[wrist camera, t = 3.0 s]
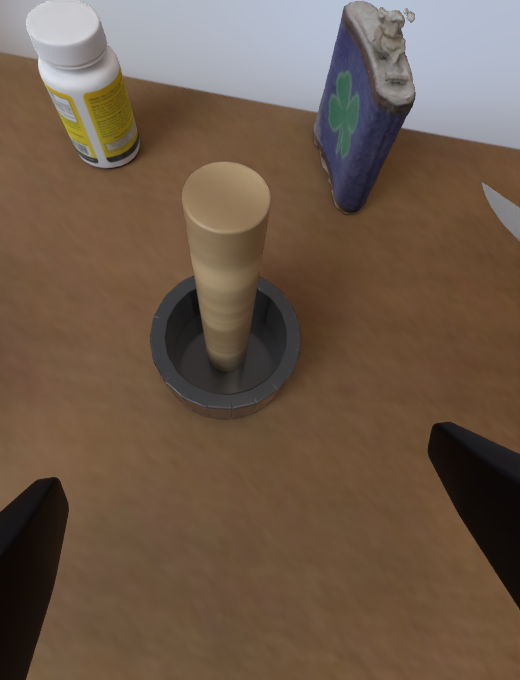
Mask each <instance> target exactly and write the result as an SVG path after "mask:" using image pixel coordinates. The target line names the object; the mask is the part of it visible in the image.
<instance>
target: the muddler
mask: <svg viewBox="0 0 520 680" xmlns="http://www.w3.org/2000/svg"><path fill="white" fill-rule="evenodd" d="M182 205H183V211H184V217H185V223H186V229H187V235H188V241H189V247H190V253H191V259H192V265H193V271H194V277H195V283H196V289H197V295H198V301H199V307H200V313H201V319H202V325H203V331H204V337H205V343H206V349H207V355H208V359H209V362H210V363H211V365H212V366H213V367H214V368H215V369H217V370H219V371H222V372H231V371H234V370H237V369H238V368H239V367H241V366H242V364H243V363H244V361H245V358H246V353H247V347H248V341H249V335H250V329H251V322H252V316H253V310H254V304H255V298H256V292H257V286H258V279H259V273H260V267H261V261H262V255H263V249H264V243H265V236H266V230H267V224H268V218H269V212H270V206H271V195H270V191H269V189H268V186H267V184H266V183H265V181H264V180H263V178H262V177H261V176H260V175H259V174H258V173H256V172H255V171H254V170H252V169H250V168H249V167H247V166H244V165H241V164H238V163H233V162H215V163H211V164H208V165H205V166H203V167H201V168H199V169H197V170H196V171H195V172H193V173H192V174H191V175H190V176H189V178H188V179H187V181H186V183H185V185H184V187H183V190H182Z"/></svg>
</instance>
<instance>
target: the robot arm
mask: <svg viewBox="0 0 520 680" xmlns="http://www.w3.org/2000/svg"><path fill="white" fill-rule="evenodd" d="M428 455H429V458H430V460H431V462H432V464H433V466H434V468H435V470H436V472H437V474H438V476H439V478H440V480H441V482H442V484H443V486H444V487H445V489H446V491H447V493H448V495H449V497H450V499H451V501H452V503H453V505H454V507H455V508H456V510H457V512H458V514H459V516H460V517H461V519H462V520H463V522H464V524H465V525H466V527H467V528H468V530H469V531H470V533H471V535H472V536H473V538H474V539H475V541H476V542H477V544H478V545H479V547H480V549H481V550H482V552H483V553H484V555H485V556H486V558H487V559H488V561H489V563H490V564H491V566H492V567H493V569H494V570H495V572H496V573H497V575H498V577H499V578H500V580H501V581H502V583H503V584H504V586H505V587H506V589H507V591H508V592H509V594H510V595H511V597H512V598H513V600H514V601H515V603H516V604H517V606H518V608H519V609H520V454H518V453H516V452H514V451H512V450H509V449H507V448H505V447H503V446H501V445H499V444H497V443H495V442H492V441H490V440H488V439H486V438H484V437H482V436H480V435H478V434H475V433H473V432H471V431H469V430H467V429H465V428H463V427H461V426H458V425H456V424H454V423H452V422H443V423H436V424H434V425H433V427H432V430H431V434H430V439H429V444H428ZM68 512H69V505H68V501H67V498H66V496H65V493H64V490H63V488H62V485H61V482H60V480H59V479H58V478H56V477H51V478H44V479H39V480H36V481H35V482H34V483H32V484H31V485H30V486H29V487H28V488H27V489H26V490H25V491H23V492H22V493H21V494H20V495H19V496H18V497H17V498H16V499H14V500H13V501H12V502H11V503H10V504H9V505H8V506H7V507H5V508H4V509H3V510H2V511H1V512H0V680H26V677H27V674H28V671H29V667H30V664H31V661H32V658H33V654H34V651H35V648H36V644H37V641H38V638H39V634H40V631H41V628H42V625H43V621H44V618H45V615H46V611H47V608H48V605H49V602H50V598H51V595H52V591H53V588H54V584H55V579H56V575H57V570H58V565H59V559H60V554H61V549H62V544H63V539H64V534H65V528H66V523H67V518H68Z"/></svg>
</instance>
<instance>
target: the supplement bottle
mask: <svg viewBox="0 0 520 680" xmlns="http://www.w3.org/2000/svg"><path fill="white" fill-rule="evenodd" d="M26 28H27V31H28V33H29V35H30V38H31V40H32V43H33V45H34V48H35V50H36V52H37V54H38V56H39V60H38V67H39V72H40V75H41V77H42V80H43V82H44V84H45V86H46V88H47V90H48V92H49V94H50V96H51V98H52V101H53V103H54V105H55V107H56V109H57V111H58V113H59V115H60V117H61V119H62V122H63V124H64V126H65V128H66V130H67V132H68V134H69V136H70V138H71V140H72V142H73V144H74V146H75V149H76V151H77V152H78V154H79V156H80V157H81V158H82V159H83V160H84V161H85V162H87V163H88V164H90V165H93V166H96V167H100V168H113V167H118V166H122V165H124V164H126V163H128V162H129V161H131V160H132V159H133V158H134V157H135V156H136V154H137V152H138V150H139V146H140V139H139V134H138V130H137V127H136V123H135V120H134V116H133V112H132V108H131V105H130V101H129V97H128V94H127V90H126V86H125V83H124V79H123V75H122V72H121V68H120V64H119V62H118V58H117V56H116V54H115V53H114V51H113V50H112V49H111V48H110V47H109V46H108V45H107V41H106V36H105V33H104V30H103V27H102V24H101V21H100V18H99V16H98V14H97V13H96V11H95V10H94V9H93V8H92V7H91V6H89V5H88V4H86V3H84V2H81V1H77V0H50V1H47V2H44V3H42V4H40V5H38V6H36V7H35V8H33V9H32V11H30V13H29V15H28V16H27V19H26Z"/></svg>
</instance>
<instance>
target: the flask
mask: <svg viewBox="0 0 520 680" xmlns="http://www.w3.org/2000/svg"><path fill="white" fill-rule="evenodd" d="M404 13H405V14H407V15H406V16H407V19H408V20H409V21H410V22H413V21H414V20H415V14H414V13H412V12H411V11H410V12H409V11H408V9H407V8H406V9H405V10H404ZM404 22H405V19H404V16H403V15H402V13H401V12H400V11H397V10H395V11H386V10H385V9H384V8H380V9H379V10H378V9H377V8H376V7H374V6H373V5H372V4H370V3H367V2H365V1H355V2H351V3H349V4H348V5H346V6H344V9H343V14H342V18H341V23H340V27H339V32H338V36H337V40H336V43H335V47H334V52H333V56H332V60H331V65H330V69H329V73H328V76H327V80H326V85H325V89H324V93H323V96H322V99H321V103H320V106H319V111H318V113H317V118H316V122H315V124H314V128H313V132H314V143H315V145H316V146H317V145H318V148H319V151H320V153H321V154H320V156H321V158H320V159H321V162H322V163H321V164H322V165H323V169H325V170H326V172H327V173H328V174H329V179H328V180H327V181H329V183H330V184H331V185H332V192H331V193H332V194H333V199H334V202H335V206H336V207H337V208H338V209H339V210H341V211H342V212H344V213H345V215H347V214H357V213H358V212H360V211H362V209H363V207H364V204H365V203H366V200H367V197H368V195H369V193H370V191H371V189H372V187H373V185H374V183H375V181H376V180H377V177H378V175H379V172H380V170H381V168H382V166H383V164H384V161H385V159H386V158H387V156H388V154H389V151H390V149H391V147H392V145H393V143H394V142H395V140H396V137H397V134H398V132H399V131H400V129H401V127H402V125H403V123H404V120H405V118H406V116H407V115H408V113H409V112H410V110H411V108H412V106H413V103H414V100H415V94H416V93H415V87H414V84H413V79H412V73H411V69H410V66H409V63H408V60H407V57H406V55H405V39H404V38H403V34H402V31H401V28H402V27H403V26H404Z"/></svg>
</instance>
